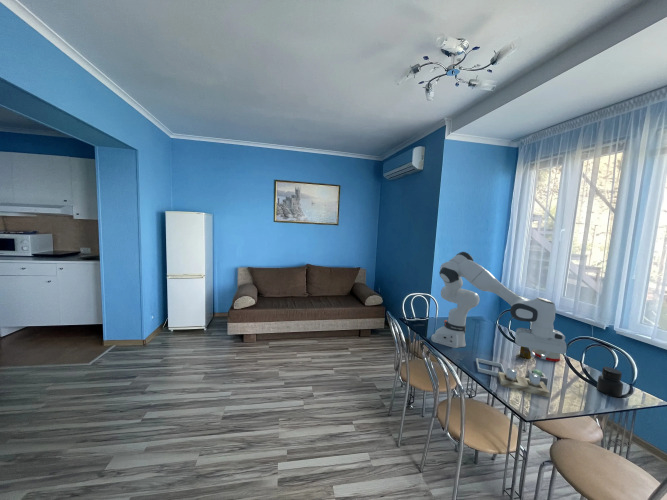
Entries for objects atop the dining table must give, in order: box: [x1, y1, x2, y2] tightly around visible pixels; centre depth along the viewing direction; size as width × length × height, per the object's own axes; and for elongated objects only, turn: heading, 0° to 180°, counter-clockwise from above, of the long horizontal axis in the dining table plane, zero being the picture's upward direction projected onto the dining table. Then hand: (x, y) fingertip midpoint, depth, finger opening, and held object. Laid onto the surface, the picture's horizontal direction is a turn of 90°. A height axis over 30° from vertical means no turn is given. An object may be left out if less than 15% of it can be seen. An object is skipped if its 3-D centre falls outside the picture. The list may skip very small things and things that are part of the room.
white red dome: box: [532, 349, 561, 362], centre depth 174 cm, size 14×14×15 cm
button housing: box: [526, 368, 549, 386], centre depth 144 cm, size 7×7×4 cm
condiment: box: [515, 346, 534, 362], centre depth 171 cm, size 7×8×12 cm
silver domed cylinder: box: [505, 367, 518, 382], centre depth 139 cm, size 4×4×7 cm
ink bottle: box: [596, 366, 624, 398], centre depth 136 cm, size 10×9×12 cm
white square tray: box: [475, 357, 506, 377], centre depth 153 cm, size 13×13×2 cm
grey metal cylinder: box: [528, 373, 541, 388], centre depth 135 cm, size 4×4×7 cm
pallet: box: [497, 371, 551, 398], centre depth 137 cm, size 20×10×3 cm, turn 67°
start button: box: [532, 368, 543, 377], centre depth 144 cm, size 4×4×3 cm
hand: (537, 357), depth 134 cm, fingers open, 3 cm apart
